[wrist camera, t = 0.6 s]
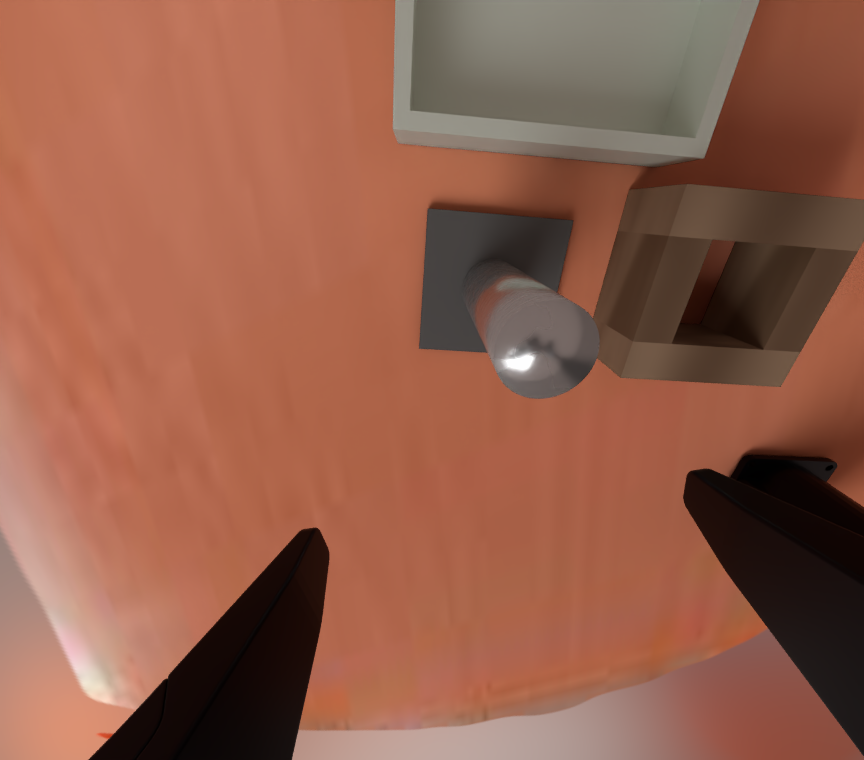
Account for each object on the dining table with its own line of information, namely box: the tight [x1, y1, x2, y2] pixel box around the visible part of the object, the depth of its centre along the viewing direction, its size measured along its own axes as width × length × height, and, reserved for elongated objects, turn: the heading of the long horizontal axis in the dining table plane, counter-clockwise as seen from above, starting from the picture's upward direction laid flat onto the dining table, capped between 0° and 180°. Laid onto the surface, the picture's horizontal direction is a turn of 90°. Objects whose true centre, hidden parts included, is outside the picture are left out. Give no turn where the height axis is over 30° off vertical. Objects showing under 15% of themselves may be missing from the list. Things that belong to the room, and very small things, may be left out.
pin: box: [462, 259, 600, 399], centre depth 14 cm, size 3×3×9 cm
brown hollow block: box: [593, 184, 864, 387], centre depth 17 cm, size 8×8×4 cm
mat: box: [419, 209, 573, 353], centre depth 18 cm, size 7×7×1 cm
